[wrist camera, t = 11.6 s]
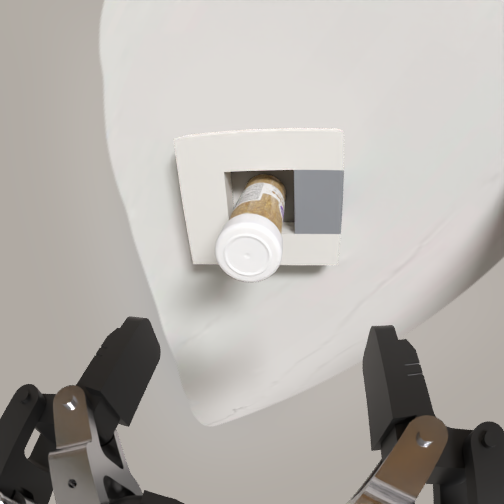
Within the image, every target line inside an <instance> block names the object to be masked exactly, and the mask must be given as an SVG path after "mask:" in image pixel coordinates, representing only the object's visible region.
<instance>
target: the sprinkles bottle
mask: <svg viewBox="0 0 504 504" xmlns="http://www.w3.org/2000/svg"><path fill="white" fill-rule="evenodd" d="M285 201H286V189H285V187H284V185H283V184H282V182H281V181H280V180H279V179H278V178H276V177H274V176H272V175H267V174H261V175H257V176H255V177H253V178H252V179H250V180H249V181H248V183H247V184H246V187H245V189H244V191H243V193H242V195H241V196H240V198H239V200H238V202H237V204H236V206H235V208H234V210H233V212H232V214H231V216H230V219H229V221H228V222H227V223H226V224H225V225H224V226H223V228H222V230H221V231H220V234H219V236H218V238H217V240H216V244H215V257H216V260H217V262H218V264H219V266H220V267H221V269H222V270H223V271H224V272H225V273H226V274H228V275H229V276H230V277H232V278H234V279H236V280H239V281H243V282H258V281H262V280H264V279H267V278H268V277H270V276H271V275H272V274H274V273H275V272H276V270H277V269H278V267H279V265H280V263H281V259H282V253H283V239H282V236H281V232H282V226H283V217H284V208H285Z"/></svg>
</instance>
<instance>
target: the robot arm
mask: <svg viewBox="0 0 504 504" xmlns="http://www.w3.org/2000/svg"><path fill="white" fill-rule="evenodd" d="M159 359H160V345H159V343H158V341H157V338H156V336H155V333H154V331H153V328H152V326H151V323H150V321H149V320H148V319H147V318H139V317H128V318H127V319H126V320H125V322H124V323H123V325H122V326H121V328H117V329H116V330H115V331H113V332H112V333H111V334H110V335H109V336H107V338H106V339H105V341H104V342H103V344H102V345H101V348H99V350H98V352H97V353H96V356H94V358H93V359H92V361H91V362H90V364H89V366H88V367H87V369H86V370H85V372H84V373H83V375H82V377H81V378H80V380H79V382H78V383H77V384H76V386H75V385H69V386H66V387H64V388H62V389H61V390H60V391H59V392H58V393H57V394H41V392H40V391H39V390H38V389H37V388H36V387H35V386H34V385H32V384H26V385H23V386H22V387H20V388H19V389H18V390H17V391H16V393H15V394H14V396H13V398H12V399H11V401H10V403H9V405H8V406H7V408H6V410H5V411H4V413H3V415H2V417H1V419H0V504H48V502H49V500H50V497H51V494H52V491H53V490H54V495H55V500H56V504H184V503H182V502H180V501H178V500H176V499H172V498H168V497H165V496H162V495H158V494H155V493H152V492H148V491H146V490H144V493H142V491H141V489H140V487H139V485H138V483H137V482H136V480H135V479H134V478H133V476H132V475H131V473H130V471H129V468H128V465H127V462H126V459H125V456H124V453H123V449H122V446H121V442H120V439H119V435H118V432H117V430H116V427H117V425H118V424H121V425H125V426H129V425H130V423H131V421H132V418H133V416H134V414H135V411H136V410H137V407H138V405H139V403H140V401H141V398H142V396H143V394H144V392H145V390H146V388H147V385H148V383H149V381H150V379H151V377H152V375H153V372H154V370H155V368H156V366H157V364H158V362H159ZM363 375H364V382H365V390H366V398H367V406H368V416H369V426H370V436H371V450H372V451H373V450H381V455H382V459H381V460H380V462H379V463H378V465H377V466H376V467H375V469H374V470H373V471H372V473H371V474H370V476H369V477H368V478H367V479H366V481H365V482H364V483H363V485H362V486H361V487H360V488H359V489H358V491H357V492H356V493H355V494H354V495H353V497H352V498H351V499H350V500H349V501H348V502H347V504H415V500H416V498H417V497H418V495H419V493H420V492H421V490H422V488H423V487H424V485H425V483H426V484H433V493H434V504H504V431H503V429H502V428H501V427H500V426H499V425H498V424H496V423H494V422H484V423H481V424H480V425H478V426H477V427H476V428H475V429H474V430H464V429H454V428H449V427H447V426H445V424H444V423H443V422H442V421H441V420H440V419H438V418H436V416H435V414H434V412H433V409H432V405H431V401H430V397H429V394H428V390H427V387H426V383H425V379H424V376H423V375H422V369H421V366H420V365H419V359H418V356H417V353H416V350H415V349H414V348H413V346H412V345H411V344H410V343H409V342H408V341H407V340H406V339H404V340H398V338H397V335H396V331H395V328H394V326H393V325H388V326H372V327H371V329H370V333H369V337H368V341H367V345H366V348H365V352H364V356H363ZM34 428H35V429H36V430H37V431H39V432H40V433H41V434H40V436H39V438H38V440H37V442H36V444H35V446H34V449H33V451H32V453H31V455H30V457H29V458H28V459H26V457H25V454H24V449H25V447H26V445H27V443H28V441H29V439H30V437H31V434H32V432H33V430H34Z"/></svg>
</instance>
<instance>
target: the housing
mask: <svg viewBox="0 0 504 504" xmlns="http://www.w3.org/2000/svg"><path fill="white" fill-rule="evenodd" d="M173 140H174V147H175V155H176V163H177V170H178V177H179V183H180V190H181V197H182V203H183V209H184V215H185V221H186V227H187V233H188V238H189V244H190V249H191V255H192V260H193V264H217V265H219V264H218V262H217V260H216V257H215V244H216V240H217V238H218V236H219V234H220V231H221V230H222V228H223V226H224V225H225V224H226V223H227V222H228V221H229V219H230V216H231V214H232V212H233V210H234V202H233V191H232V181H231V172H234V171H259V170H294V210H295V222H283V226H282V232H281V236H282V239H283V253H282V259H281V263H280V265H338V259H339V248H340V235H341V221H342V203H343V179H344V131H342V130H340V129H332V128H274V129H251V130H235V131H222V132H211V133H201V134H192V135H184V136H181V137H179V138H176V139H173Z"/></svg>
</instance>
